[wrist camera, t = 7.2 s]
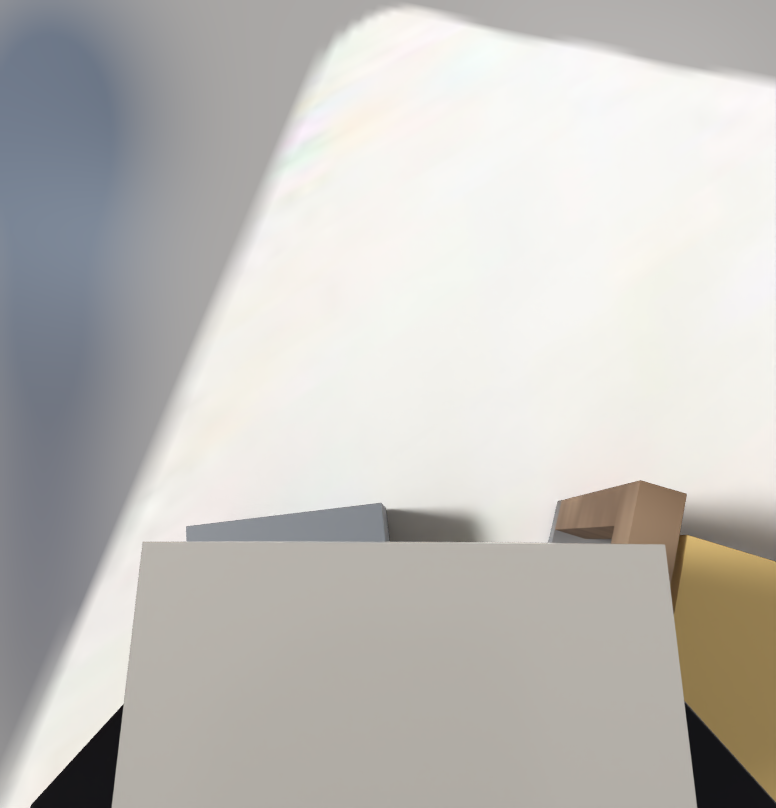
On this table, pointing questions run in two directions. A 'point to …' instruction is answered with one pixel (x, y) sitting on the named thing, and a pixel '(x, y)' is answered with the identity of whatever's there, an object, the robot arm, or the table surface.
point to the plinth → (301, 526)
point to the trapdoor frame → (622, 517)
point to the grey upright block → (403, 677)
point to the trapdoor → (729, 648)
